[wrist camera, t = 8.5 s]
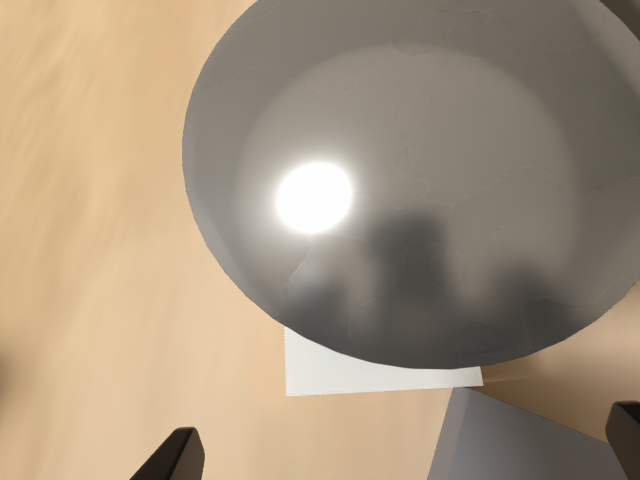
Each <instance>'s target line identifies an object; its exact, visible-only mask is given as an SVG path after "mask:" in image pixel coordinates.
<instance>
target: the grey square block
mask: <svg viewBox="0 0 640 480" xmlns="http://www.w3.org/2000/svg"><path fill="white" fill-rule="evenodd" d="M427 480H628V479H627V477H626V475H625V473H624V471H623V469H622V467H621V465H620V463H619V461H618V459H617V457H616V455H615V453H614V451H613V449H612V447H611V445H610V444H607V443H605V442H602V441H600V440H597V439H595V438H592V437H590V436H587V435H585V434H582V433H580V432H577V431H575V430H572V429H570V428H567V427H565V426H562V425H560V424H557V423H555V422H552V421H550V420H547V419H545V418H542V417H540V416H538V415H535V414H533V413H530V412H528V411H525V410H523V409H520V408H518V407H515V406H513V405H510V404H508V403H505V402H503V401H500V400H498V399H495V398H493V397H490V396H488V395H485V394H483V393H480V392H478V391H475V390H473V389H469V388H463V387H453V390H452V394H451V397H450V401H449V404H448V408H447V412H446V415H445V419H444V422H443V426H442V429H441V433H440V436H439V440H438V443H437V447H436V450H435V454H434V458H433V461H432V465H431V468H430V472H429V475H428V479H427Z"/></svg>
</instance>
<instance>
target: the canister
mask: <svg viewBox="0 0 640 480" xmlns="http://www.w3.org/2000/svg"><path fill="white" fill-rule="evenodd" d="M182 166H183V173H184V180H185V187H186V193H187V196H188V199H189V203H190V206H191V209H192V213H193V216H194V219H195V221H196V224H197V226H198V228H199V230H200V232H201V234H202V236H203V238H204V240H205V242H206V245H207V247H208V248H209V250H210V251H211V253H212V254H213V256H214V257H215V259H216V260H217V261H218V263H219V264H220V266H221V267H222V269H223V270H224V272H225V273H226V274H227V275H228V276H229V278H230V279H231V280H232V281H233V282H234V283H235V284H236V285H237V286H238V288H239V289H240V290H241V291H242V292H243V293H244V294H245V295H246V296H247V297H248V298H249V299H250V300H251V301H253V302H254V303H255V304H256V305H257V306H259V307H260V308H261V309H262V310H263V311H265V312H266V313H267V314H268V315H269V316H271V317H272V318H273V319H275V320H276V321H278V322H280V323H281V324H283V325H284V326H286V327H288V328H289V329H291V330H292V331H294V332H296V333H297V334H299V335H300V336H302V337H304V338H306V339H308V340H310V341H313V342H315V343H317V344H319V345H321V346H324V347H326V348H328V349H330V350H333V351H335V352H337V353H339V354H343V355H346V356H350V357H352V358H356V359H359V360H363V361H366V362H370V363H375V364H382V365H388V366H395V367H401V368H408V369H443V370H453V369H461V368H470V367H478V366H487V365H493V364H497V363H500V362H504V361H508V360H512V359H516V358H519V357H523V356H527V355H530V354H532V353H535V352H537V351H540V350H542V349H544V348H547V347H549V346H551V345H554V344H556V343H558V342H561V341H563V340H565V339H567V338H568V337H570V336H572V335H573V334H575V333H577V332H578V331H580V330H581V329H583V328H585V327H586V326H588V325H590V324H591V323H593V322H595V321H596V320H597V319H598V318H600V317H601V316H602V315H603V314H604V313H605V312H607V311H608V310H609V309H610V308H611V307H613V306H614V305H615V304H616V303H617V302H618V301H620V300H621V299H622V298H623V297H624V296H625V295H626V294H627V292H628V291H629V290H630V289H631V288H632V287H633V285H634V284H635V283H636V282H637V281H638V280H639V278H640V41H639V40H638V39H637V38H636V37H635V36H634V35H633V33H632V32H631V31H630V30H629V29H628V28H627V27H626V25H625V24H624V23H623V22H622V21H621V20H620V19H619V18H618V17H617V16H615V15H614V14H613V13H612V12H611V11H610V10H609V9H608V8H607V7H605V6H604V5H603V4H602V3H601V2H600V1H598V0H258V1H257V2H255V3H254V4H253V5H252V6H250V7H249V8H248V9H247V10H246V11H245V12H244V13H243V14H242V15H241V16H240V17H239V18H238V19H237V20H236V21H235V22H234V23H233V24H232V25H231V27H230V28H229V29H228V30H227V32H226V33H225V34H224V35H223V37H222V38H221V39H220V41H219V42H218V43H217V44H216V46H215V48H214V49H213V51H212V52H211V54H210V56H209V57H208V59H207V61H206V62H205V64H204V66H203V68H202V70H201V72H200V75H199V77H198V79H197V81H196V84H195V86H194V88H193V91H192V94H191V98H190V101H189V105H188V108H187V112H186V117H185V124H184V131H183V138H182Z"/></svg>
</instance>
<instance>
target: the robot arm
mask: <svg viewBox="0 0 640 480" xmlns="http://www.w3.org/2000/svg"><path fill="white" fill-rule="evenodd" d="M605 429H606V436H607V439H608V441H609V443H610V445H611V447H612V449H613V451H614V453H615V455H616V457H617V459H618V461H619V463H620V465H621V467H622V469H623V471H624V473H625V475H626V477H627V479H628V480H640V402H637V401H618V402H615V403H614V404H613V405H612V408H611V411H610V414H609V417H608V421H607V424H606V428H605ZM204 460H205V453H204V448H203V446H202V443H201V440H200V437H199V434H198V431H197V429H196V428H195V427H180V428H177V429H176V430H174V431H173V432H172V433H171V434H170V436H169V437H168V438H167V439H166V440H165V441H164V442H163V443H162V444H161V445H160V447H159V448H158V449H157V450H156V451H155V452H154V453H153V454H152V455H151V456H150V458H149V459H148V460H147V461H146V462H145V463H144V464H143V465H142V466H141V467H140V469H139V470H138V471H137V472H136V473H135V474H134V475H133V476H132V477H131V478H130V480H201V478H202V473H203V467H204Z"/></svg>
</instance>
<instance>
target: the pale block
mask: <svg viewBox="0 0 640 480" xmlns="http://www.w3.org/2000/svg"><path fill="white" fill-rule="evenodd" d="M285 367H286V396H301V395H319V394H338V393H357V392H376V391H395V390H413V389H432V388H451V387H470V386H484V385H483V380H482V374H481V369H480V366H478V367H470V368H461V369H453V370H443V369H408V368H401V367H395V366H388V365H382V364H375V363H370V362H366V361H363V360H359V359H356V358H352V357H350V356H346V355H343V354H339V353H337V352H335V351H333V350H330V349H328V348H326V347H324V346H321V345H319V344H317V343H315V342H313V341H310V340H308V339H306V338H304V337H302V336H300V335H299V334H297V333H296V332H294V331H292V330H291V329H289V328H288V327H286V326H285Z"/></svg>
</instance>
